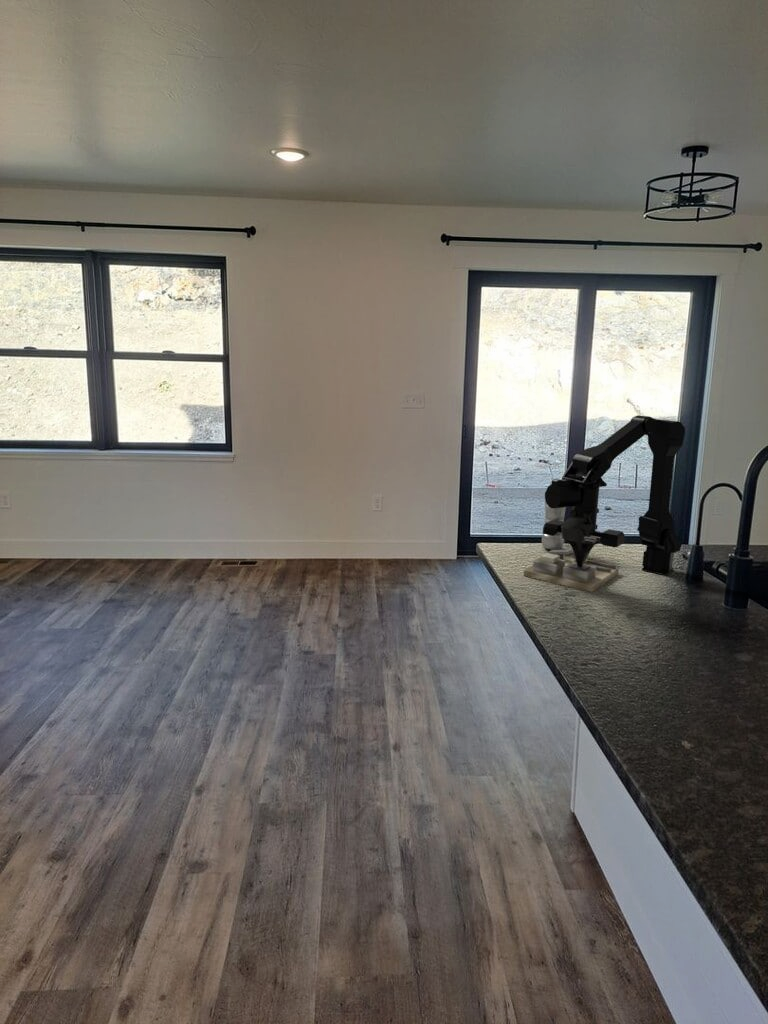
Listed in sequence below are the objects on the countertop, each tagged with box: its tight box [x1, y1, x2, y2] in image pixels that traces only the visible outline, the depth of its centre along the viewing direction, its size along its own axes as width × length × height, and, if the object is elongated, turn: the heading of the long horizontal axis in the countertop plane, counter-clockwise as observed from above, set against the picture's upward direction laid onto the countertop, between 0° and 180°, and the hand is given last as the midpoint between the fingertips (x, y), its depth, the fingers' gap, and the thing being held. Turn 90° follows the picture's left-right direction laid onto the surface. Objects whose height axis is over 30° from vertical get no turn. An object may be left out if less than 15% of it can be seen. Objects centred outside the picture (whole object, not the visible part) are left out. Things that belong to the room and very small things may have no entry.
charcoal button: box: [570, 563, 590, 571], centre depth 159 cm, size 4×4×2 cm
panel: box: [523, 554, 620, 593], centre depth 166 cm, size 18×18×4 cm
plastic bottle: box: [541, 481, 567, 551], centre depth 187 cm, size 6×7×20 cm
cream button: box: [539, 552, 560, 564], centre depth 164 cm, size 4×4×2 cm
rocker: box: [547, 549, 573, 555], centre depth 174 cm, size 6×3×1 cm, turn 51°
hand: (580, 566), depth 159 cm, fingers closed, pressing on charcoal button
